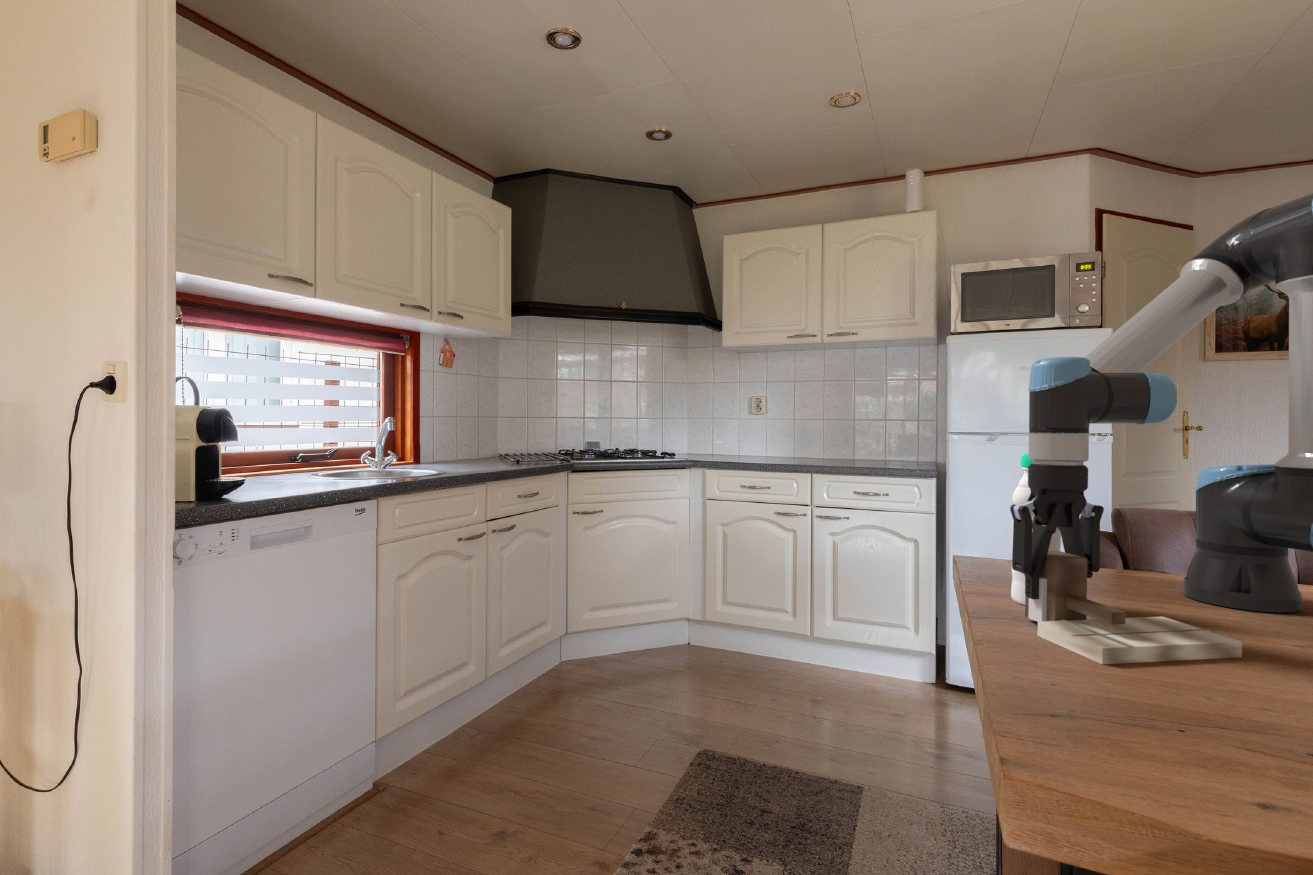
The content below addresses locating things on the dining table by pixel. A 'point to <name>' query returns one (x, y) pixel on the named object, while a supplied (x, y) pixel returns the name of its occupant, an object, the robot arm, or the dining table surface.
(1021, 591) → the water bottle
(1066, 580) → the block with long handle
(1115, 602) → the dining table surface
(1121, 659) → the board
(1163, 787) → the dining table surface
